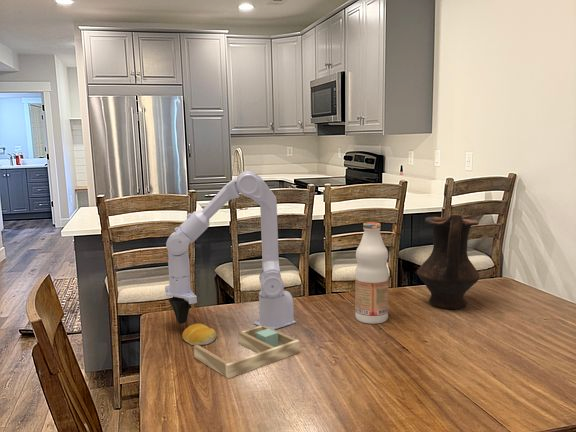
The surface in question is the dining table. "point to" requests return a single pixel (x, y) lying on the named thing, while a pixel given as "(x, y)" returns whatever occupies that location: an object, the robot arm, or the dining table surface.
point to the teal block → (268, 337)
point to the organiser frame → (262, 357)
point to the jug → (449, 262)
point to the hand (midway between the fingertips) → (181, 322)
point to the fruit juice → (371, 277)
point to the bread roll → (199, 334)
